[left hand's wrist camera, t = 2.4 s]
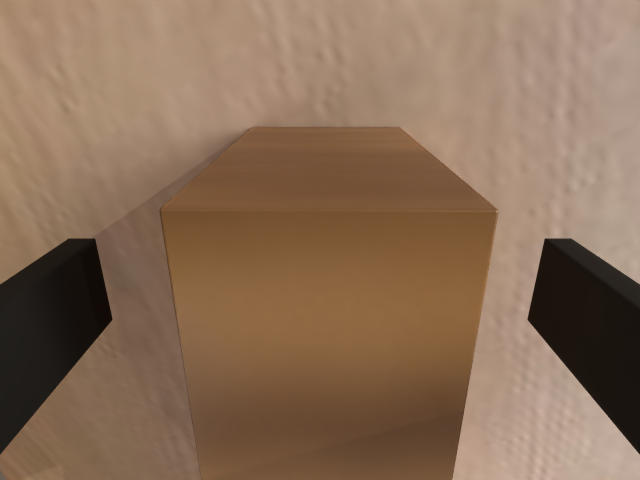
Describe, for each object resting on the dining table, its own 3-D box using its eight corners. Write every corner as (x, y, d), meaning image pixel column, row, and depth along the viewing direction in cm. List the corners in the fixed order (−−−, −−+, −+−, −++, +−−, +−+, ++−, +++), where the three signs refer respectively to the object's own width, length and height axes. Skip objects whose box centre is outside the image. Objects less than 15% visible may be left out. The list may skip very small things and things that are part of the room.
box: (251, 126, 17) (158, 208, 8) (400, 127, 17) (500, 209, 8) (273, 485, 26) (242, 747, 16) (374, 486, 26) (406, 748, 16)
